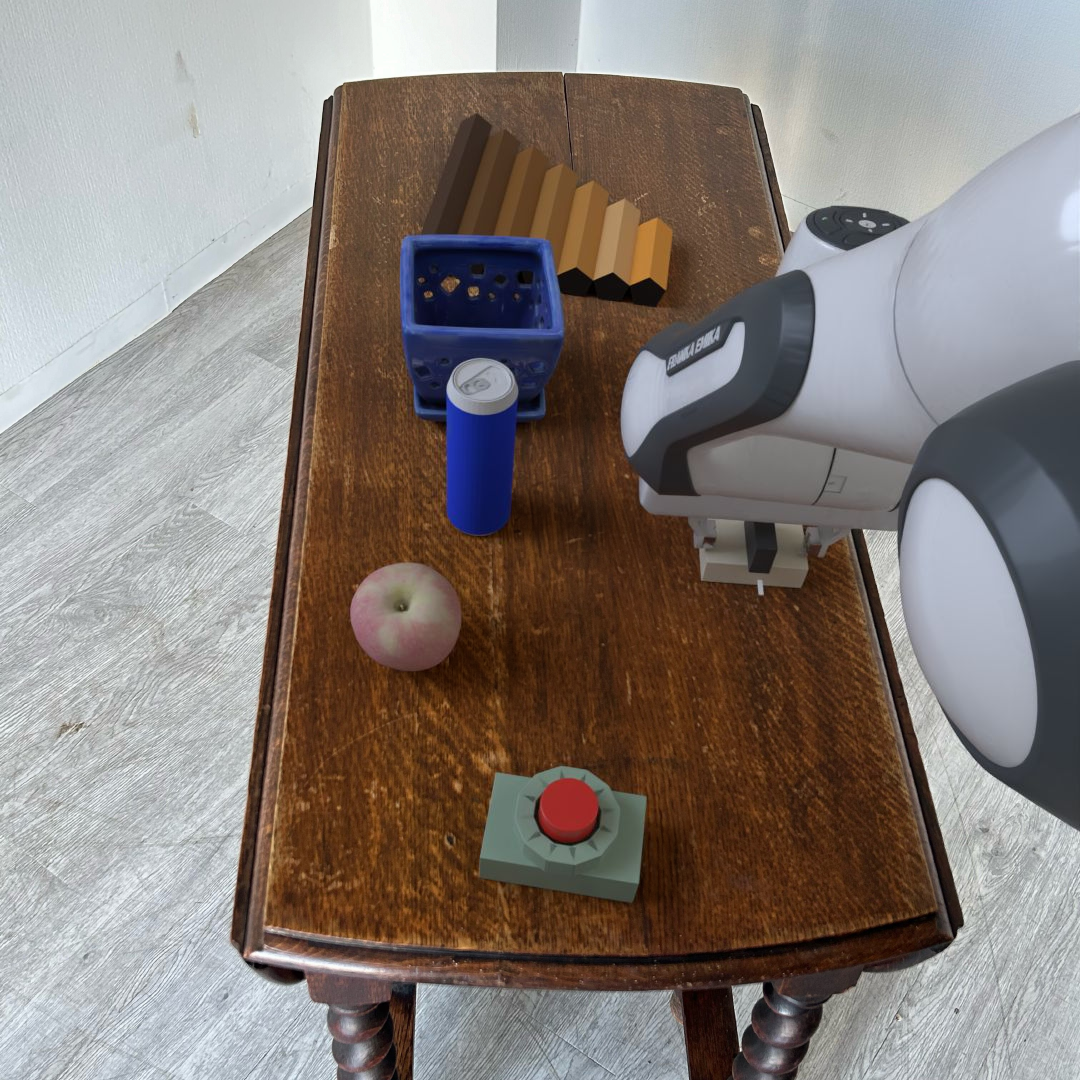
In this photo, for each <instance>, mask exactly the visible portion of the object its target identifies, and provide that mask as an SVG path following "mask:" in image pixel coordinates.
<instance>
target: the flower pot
mask: <svg viewBox="0 0 1080 1080" xmlns="http://www.w3.org/2000/svg"><path fill="white" fill-rule="evenodd" d="M476 264H483V265H484V268H483V272H482V273H481V275H479V274H473V273H472V271H471V266H472V265H476ZM432 266H436V269H432V268H431V267H432ZM519 271H520V272H521V271H532V272H533V282H532V284H525V283H520V281H519V275H517V274H518V272H519ZM498 275H502V276H504V277H505V278H506V281H505V282H504V283H503V284H499V283H498V282H496V281H495V278H496V277H497V276H498ZM449 276H452V277H454V278H455V277H456V278H457V280H458V281H459V283H458V284H457V285H456V286H455V287H454V289H453V290H451V291H448V290H446V289H445V287H443V286H442V283H443V282H444V281H445V280H446V279H447V278H448V277H449ZM456 278H455V279H456ZM420 279H423V281H420ZM469 288H477V290H478V294H476V295H470V293H469ZM428 292H430V293H431V296H427V297H426V295H425V293H428ZM490 294H492V295H493V296H494V297H491V296H490ZM516 295H518V298H517V297H516ZM399 304H400V305H399V306H400V307H399V308H400V313H399V314H400V327H401V336H402V337H401V338H402V345H403V351H404V357H405V362H406V368H407V371H408V374H409V377H410V379H411V382H412V384H413V407H414V412H415V415H416V416H417V418H419V419H421V420H423V421H426V422H446V423H447V384H448V382H449V379H450V377H451V375H452V372H453V371H454V369H455V368H456V367H457V366H458V365H459V364H461V363H463V362H465V361H467V360H471V359H477V358H485V359H492V360H495V361H498V362H500V363H502V364H504V365H505V366H506V367H508V368H509V369H510V370H511V372H512V373H513V375H514V378H515V381H516V383H517V386H518V402H517V418H516V423H533V422H534V423H535V422H538V421H540V420H542V419H543V418H544V417H545V416H546V412H547V411H546V407H547V406H546V394H545V393H546V391H545V387H546V386H547V385H548V383H549V381H550V379H551V378H552V376H553V374H554V372H555V369H556V368H557V365H558V362H559V359H560V356H561V354H562V350H563V346H564V341H565V336H566V335H565V332H566V330H565V329H566V328H565V315H564V307H563V301H562V294H561V287H560V284H559V280H558V277H557V273H556V267H555V261H554V255H553V249H552V245H551V243H550V241H548V240H546V239H540V238H528V237H510V236H483V235H420V234H414V235H413V234H411V235H406V236H405V237H404V238H403V239H402V242H401V248H400V258H399Z"/></svg>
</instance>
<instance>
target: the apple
mask: <svg viewBox="0 0 1080 1080" xmlns="http://www.w3.org/2000/svg"><path fill="white" fill-rule="evenodd" d="M349 615H350V623H351V627H352V630H353V633H354V636H355V639H356V640H357V642H358V644H359V645H360V648H362V650H363V651H364V652H365V653H366V654H367V655H368V656H369V657H370V658H371V659H372V660H374V662H376V663H378V664H379V665H382V666H383V667H386V668H390V669H393V670H397V671H403V672H419V671H424V670H428V669H431V668H433V667H435V666H437V665H439V664H440V663H442V662H443V661H444V660H445V659H447V657H448V656H449V655H450V653H451V652H452V651H453V649H454V647H455V645H456V643H457V641H458V637H459V635H460V632H461V631H460V630H461V625H462V607H461V603H460V600H459V597H458V594H457V593H456V590H455V588H454V586H453V585H452V584H451V583H450V581H449V580H448V579H447V578H446V577H444V576H443V575H442V573H440V572H438V571H437V570H436V569H434V568H432V567H430V566H428V565H425V564H423V563H419V562H397V563H393V564H389V565H386V566H383V567H380V568H378V569H375V570H374V571H373V572H371V573H370V574H369V575H367V576H366V577H365V578H364V579H363V581H362V582H361V583H360V584H359V586H358V587H357V590H356V591H355V593H354V595H353V596H352V599H351V604H350V611H349Z"/></svg>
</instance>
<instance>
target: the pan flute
mask: <svg viewBox="0 0 1080 1080" xmlns="http://www.w3.org/2000/svg"><path fill="white" fill-rule="evenodd" d="M492 129H493V125H492V124H491V123H490V122H489V121H488V120H487V119H485V118H484V117H483V116H481V115H480V114H479V113H478V112H476V113H474V114H472V115H470V116H468V117H467V118H464V119H463V120H461V121H460V123H459V126H458V129H457V132H456V134H455V137H454V140H453V142H452V146H451V148H450V151H449V154H448V156H447V159H446V162H445V165H444V168H443V170H442V174H441V176H440V179H439V182H438V185H437V187H436V190H435V193H434V195H433V198H432V201H431V204H430V207H429V209H428V211H427V215H426V218H425V221H424V224H423V227H422V229H421V232H420V234H419V235H483V236H510V237H528V238H540V239H546V240H548V241H550V243H551V245H552V249H553V255H554V261H555V267H556V273H557V278H558V283H559V288H560V292H561V293H562V294H561V295H569V296H577V297H582V298H583V297H586V294H587V293H588V291H589V289H590V287H591V286H592V283H593V285H594V289H595V293H596V297H597V299H598V300H606V301H611V302H613V301H614V302H619V303H620V302H621V301H622V300H623V298H624V296H625V294H626V293H627V291H628V289H630V293H631V294H630V295H631V298H632V302H633V305H640V306H647V307H654V308H657V306H658V304H660V301H661V300H662V298H663V297H664V295H665V293H666V292H667V287H668V277H669V270H670V269H669V268H670V260H671V252H672V242H673V233H674V230H673V229H672V228H671V227H670V226H669V225H668V224H666V222H664V221H663V220H662V219H661V218H659V217H655V218H652V219H650V220H648V221H646V222H643V223H641V224H640V219H641V213H642V212H641V210H640V209H638V208H637V207H636V205H634V204H633V203H632V202H630V201H629V200H627V198H623V199H621V200H618V201H615V202H614V203H612V204H610V205H608V204H609V203H608V202H609V197H610V192H608V191H607V190H606V189H605V188H604V187H603V186H601V185H600V184H599V183H598V182H596V181H595V180H591V181H589V182H587V183H585V184H583V185H581V186H579V187H578V182H579V178H580V177H579V174H578V173H576V172H575V171H574V170H573V169H572V168H571V167H569V166H568V165H567V164H566V163H564V162H561V163H560V164H558V165H555V166H554V167H552V168H550V169H548V164H549V161H550V158H549V157H548V156H547V155H546V154H544V153H543V152H542V151H541V150H540V149H539V148H537V147H536V146H535V145H532V146H530V147H528V148H526V149H524V150H522V151H520V152H519V148H520V145H521V141H520V140H519V139H517V138H516V137H515V136H514V135H513V134H512V133H510V132H509V131H508V130H507V129H505V128H503V129H501V130H499V131H498V132H496V133H494V134H492V135H491V131H492ZM490 135H491V136H490ZM518 152H519V153H518ZM431 268H432V269H436V266H432V267H431ZM471 271H472V273H473V274H479V275H482V274H483V271H484V265H483V264H476V265H472V266H471ZM520 273H521V275H522V278H523V281H524V284H532V282H533V272H532V271H519V272H518V274H517V275H518V276H519V275H520ZM454 278H455V279H457V278H456V277H454ZM457 280H458V279H457ZM495 281H496V282H498V283H499V284H503V283H504V282H505V281H506V278H505V277H504V276H502V275H498V276H497V277H496V278H495Z"/></svg>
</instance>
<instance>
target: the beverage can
mask: <svg viewBox="0 0 1080 1080" xmlns="http://www.w3.org/2000/svg"><path fill="white" fill-rule="evenodd" d="M517 402H518V386H517V383H516V381H515V378H514V375H513V373H512V372H511V370H510V369H509V368H508V367H506V366H505V365H504V364H502V363H500V362H498V361H495V360H492V359H485V358H477V359H471V360H467V361H465V362H463V363H461V364H459V365H458V366H457V367H456V368H455V369H454V371H453V372H452V375H451V377H450V379H449V382H448V384H447V422H446V514H447V518H448V520H449V521H450V523H451V524H452V526H453V527H455V528H456V529H457V530H459V531H460V532H462V533H464V534H466V535H470V536H474V537H485V536H489V535H492V534H494V533H496V532H498V531H499V530H501V529H503V528H504V526H505V525H507V523H508V521H509V519H510V517H511V509H512V493H513V479H514V477H513V476H514V463H515V462H514V461H515V447H516V446H515V445H516V433H517V422H516V418H517Z"/></svg>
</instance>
